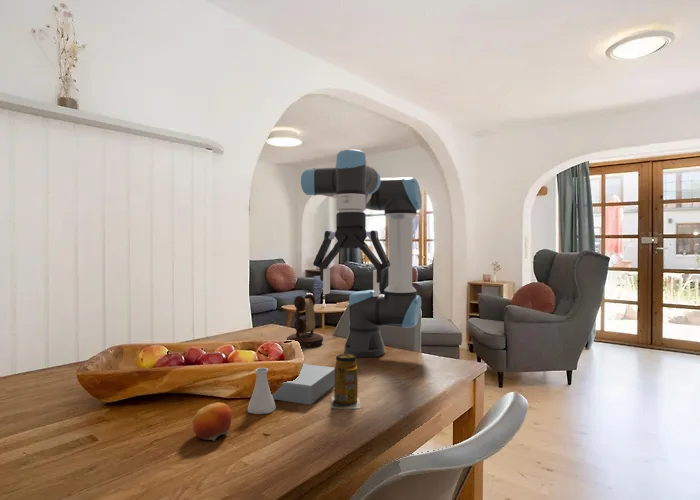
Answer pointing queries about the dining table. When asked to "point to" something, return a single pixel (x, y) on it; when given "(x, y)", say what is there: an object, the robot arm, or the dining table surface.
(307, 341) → the brown sculpture on stand
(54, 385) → the dining table surface
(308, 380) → the slate box
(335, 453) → the dining table surface
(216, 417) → the fruit
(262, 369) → the flask
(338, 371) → the condiment
